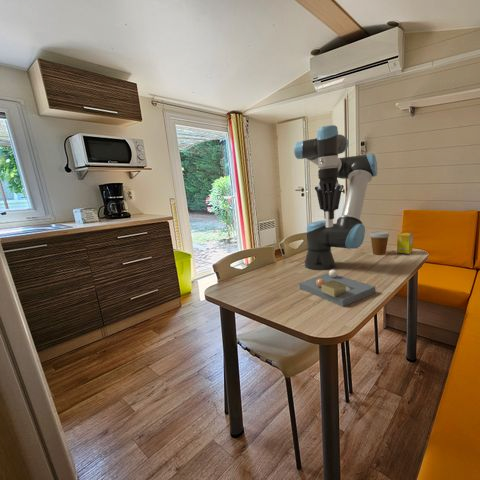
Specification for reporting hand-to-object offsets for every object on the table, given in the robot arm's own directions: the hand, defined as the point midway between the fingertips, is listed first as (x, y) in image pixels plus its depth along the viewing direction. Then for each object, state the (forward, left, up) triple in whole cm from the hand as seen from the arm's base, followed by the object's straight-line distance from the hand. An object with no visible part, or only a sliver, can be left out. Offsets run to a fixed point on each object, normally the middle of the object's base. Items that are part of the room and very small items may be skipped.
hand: (329, 226), depth 108 cm
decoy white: (+1, 0, -20) cm, 20 cm away
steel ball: (+12, -6, -23) cm, 26 cm away
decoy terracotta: (+5, -11, -20) cm, 24 cm away
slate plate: (+7, -5, -24) cm, 26 cm away
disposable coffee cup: (-12, +52, -25) cm, 59 cm away
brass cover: (+12, -12, -22) cm, 27 cm away
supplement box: (-3, +61, -25) cm, 66 cm away
